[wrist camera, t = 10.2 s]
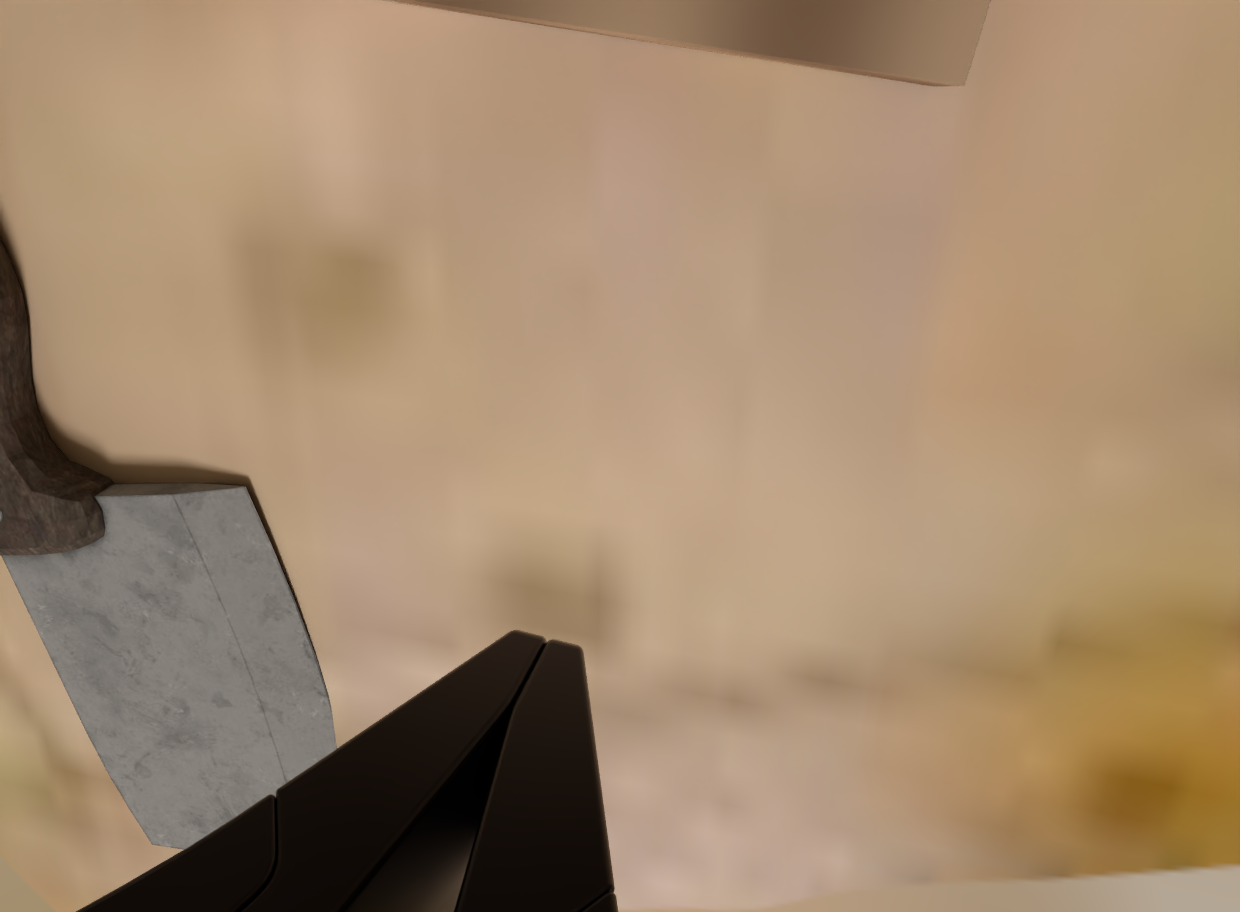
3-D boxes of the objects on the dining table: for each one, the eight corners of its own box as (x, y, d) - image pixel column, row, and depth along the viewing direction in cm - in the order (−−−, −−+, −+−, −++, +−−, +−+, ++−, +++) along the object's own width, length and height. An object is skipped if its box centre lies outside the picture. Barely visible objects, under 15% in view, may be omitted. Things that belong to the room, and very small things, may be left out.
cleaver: (-222, 12, 20) (-328, 5, 18) (100, -49, 18) (19, -63, 16) (174, 836, 32) (136, 883, 30) (394, 859, 30) (368, 912, 28)
